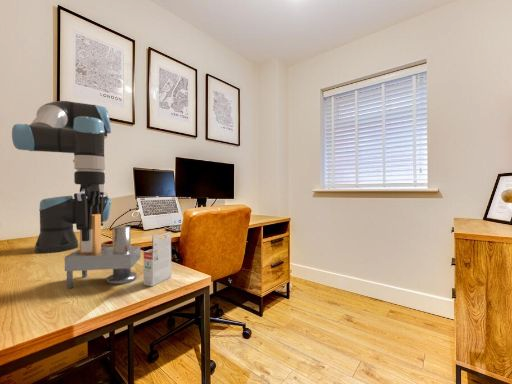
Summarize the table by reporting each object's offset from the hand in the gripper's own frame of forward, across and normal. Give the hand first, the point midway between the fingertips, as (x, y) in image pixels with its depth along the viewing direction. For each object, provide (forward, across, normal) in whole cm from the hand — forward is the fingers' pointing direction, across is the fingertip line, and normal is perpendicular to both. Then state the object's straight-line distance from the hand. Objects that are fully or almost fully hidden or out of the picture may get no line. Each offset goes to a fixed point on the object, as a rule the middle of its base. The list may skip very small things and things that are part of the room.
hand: (90, 249), depth 75 cm
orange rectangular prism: (+4, 0, 0) cm, 4 cm away
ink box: (+10, +3, +20) cm, 22 cm away
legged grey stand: (+10, 0, +4) cm, 10 cm away
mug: (+10, -26, -4) cm, 28 cm away
